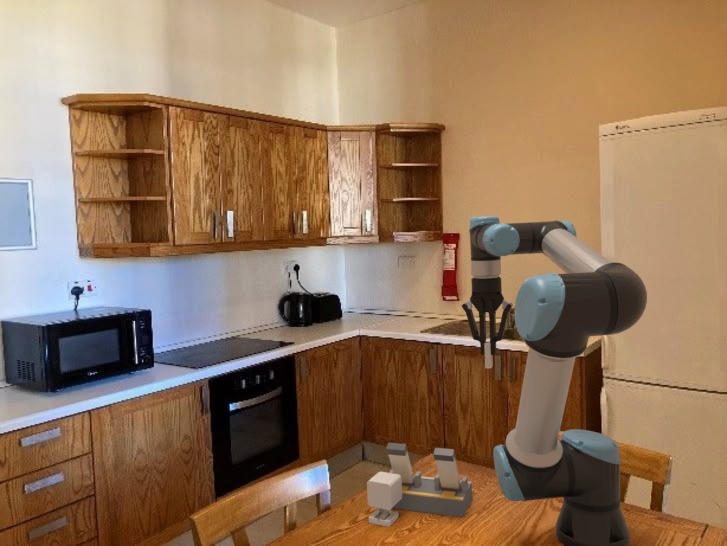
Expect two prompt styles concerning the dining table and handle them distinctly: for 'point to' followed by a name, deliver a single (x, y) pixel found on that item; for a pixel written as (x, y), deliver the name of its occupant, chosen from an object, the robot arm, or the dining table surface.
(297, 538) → the dining table surface
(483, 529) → the dining table surface
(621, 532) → the robot arm
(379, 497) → the security camera
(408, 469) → the lever
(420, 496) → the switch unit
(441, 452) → the lever
